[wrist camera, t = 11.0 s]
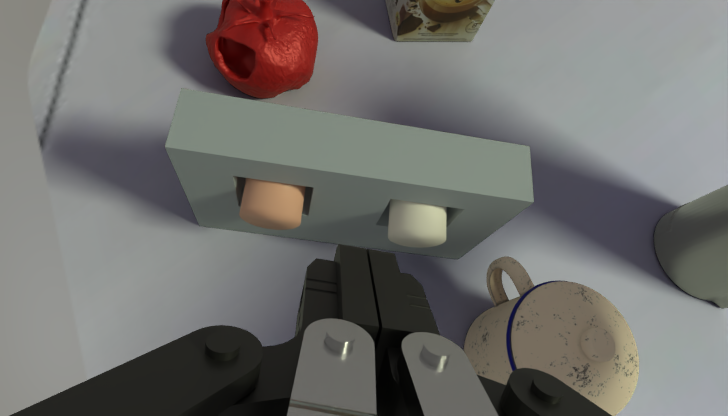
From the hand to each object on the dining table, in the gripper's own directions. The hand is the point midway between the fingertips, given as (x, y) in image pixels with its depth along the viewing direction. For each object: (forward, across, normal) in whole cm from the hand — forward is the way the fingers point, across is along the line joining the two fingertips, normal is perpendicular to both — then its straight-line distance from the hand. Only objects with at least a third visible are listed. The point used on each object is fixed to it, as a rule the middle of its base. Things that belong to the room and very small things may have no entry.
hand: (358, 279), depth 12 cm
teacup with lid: (+20, +17, -15) cm, 30 cm away
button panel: (+26, +2, -9) cm, 28 cm away
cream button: (+22, +6, -5) cm, 23 cm away
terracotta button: (+22, -4, -5) cm, 22 cm away
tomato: (+36, -7, +1) cm, 37 cm away
